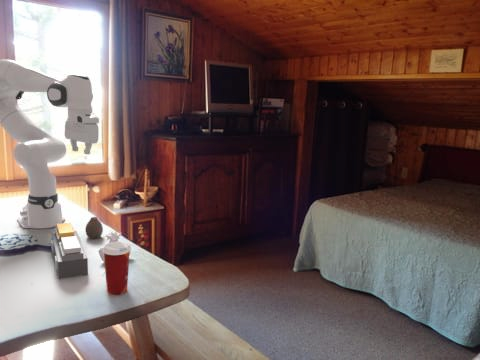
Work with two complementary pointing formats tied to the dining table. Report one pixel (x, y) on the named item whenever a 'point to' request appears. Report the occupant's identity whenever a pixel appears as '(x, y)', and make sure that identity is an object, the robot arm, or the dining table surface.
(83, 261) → the power strip
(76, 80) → the robot arm
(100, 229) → the vase
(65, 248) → the white flat block
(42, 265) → the dining table surface
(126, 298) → the dining table surface
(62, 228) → the amber switch
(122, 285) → the coffee cup
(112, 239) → the bust
